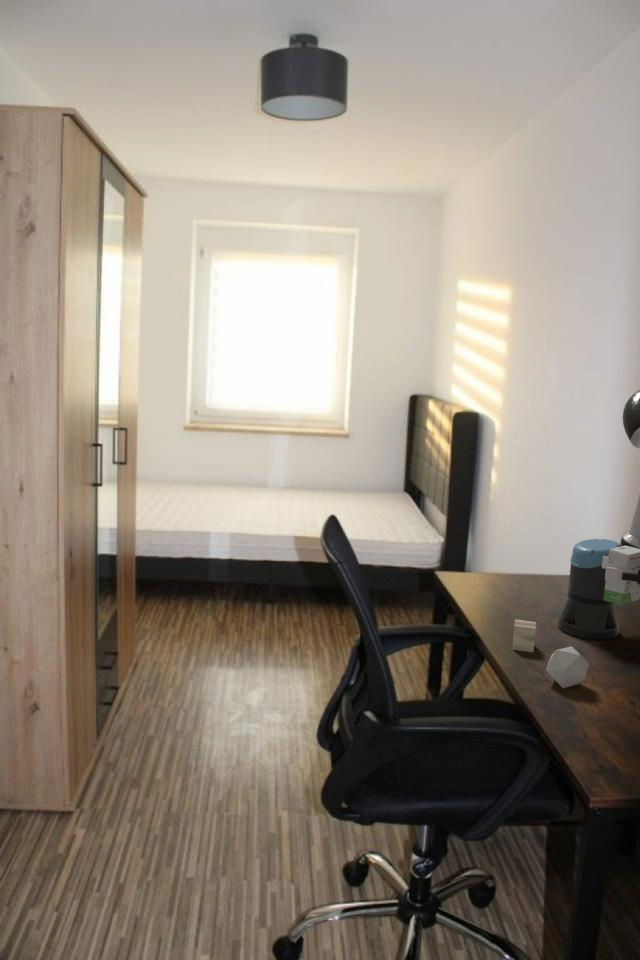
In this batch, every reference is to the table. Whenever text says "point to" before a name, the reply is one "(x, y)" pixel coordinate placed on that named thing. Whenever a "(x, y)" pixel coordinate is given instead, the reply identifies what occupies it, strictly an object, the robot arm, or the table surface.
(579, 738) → the table surface
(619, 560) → the ink box
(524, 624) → the birch block
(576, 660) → the die
